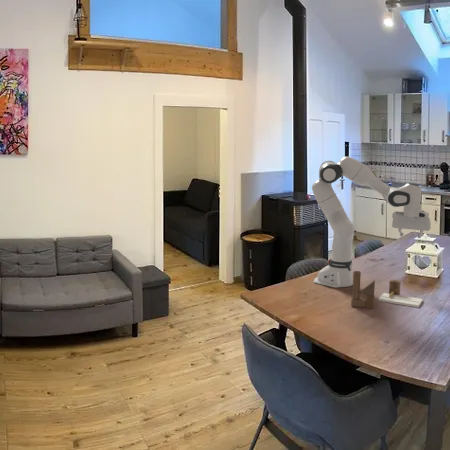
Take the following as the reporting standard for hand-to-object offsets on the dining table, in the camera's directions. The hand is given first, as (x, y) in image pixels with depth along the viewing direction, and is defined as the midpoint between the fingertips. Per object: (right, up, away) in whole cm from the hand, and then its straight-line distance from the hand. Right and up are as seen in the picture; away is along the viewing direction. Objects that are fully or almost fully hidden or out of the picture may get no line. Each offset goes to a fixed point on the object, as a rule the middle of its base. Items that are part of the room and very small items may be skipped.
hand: (410, 237), depth 286 cm
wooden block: (-33, -35, -25) cm, 54 cm away
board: (-12, -33, -18) cm, 39 cm away
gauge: (-14, -32, -11) cm, 37 cm away
